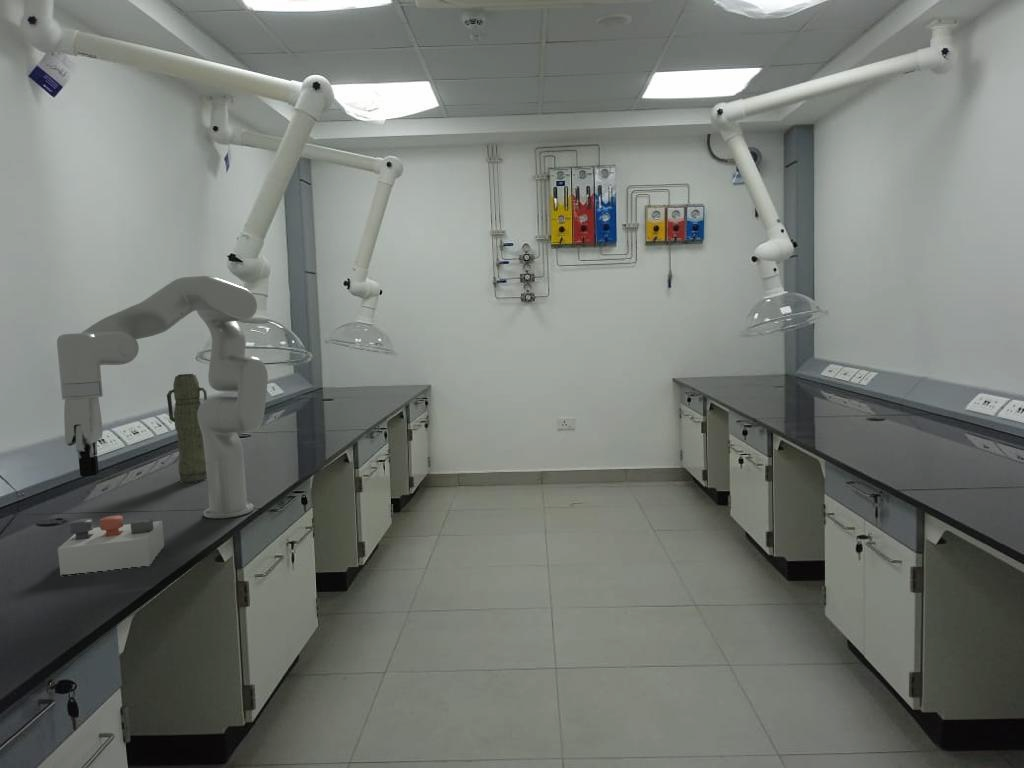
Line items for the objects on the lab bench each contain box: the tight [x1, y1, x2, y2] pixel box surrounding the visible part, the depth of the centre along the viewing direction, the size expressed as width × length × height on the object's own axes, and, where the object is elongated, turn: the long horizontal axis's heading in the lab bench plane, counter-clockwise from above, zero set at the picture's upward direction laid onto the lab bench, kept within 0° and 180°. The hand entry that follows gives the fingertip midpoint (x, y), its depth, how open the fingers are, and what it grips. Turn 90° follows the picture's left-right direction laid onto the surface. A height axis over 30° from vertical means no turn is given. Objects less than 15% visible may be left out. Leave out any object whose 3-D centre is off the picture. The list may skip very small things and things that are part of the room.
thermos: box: [166, 373, 208, 483], centre depth 233 cm, size 9×12×35 cm
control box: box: [57, 520, 165, 576], centre depth 156 cm, size 14×17×6 cm
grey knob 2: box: [130, 518, 154, 534], centre depth 158 cm, size 4×4×6 cm
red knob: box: [99, 515, 124, 537], centre depth 156 cm, size 4×4×6 cm
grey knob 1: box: [68, 517, 94, 540], centre depth 155 cm, size 4×4×6 cm
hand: (89, 475), depth 154 cm, fingers closed
